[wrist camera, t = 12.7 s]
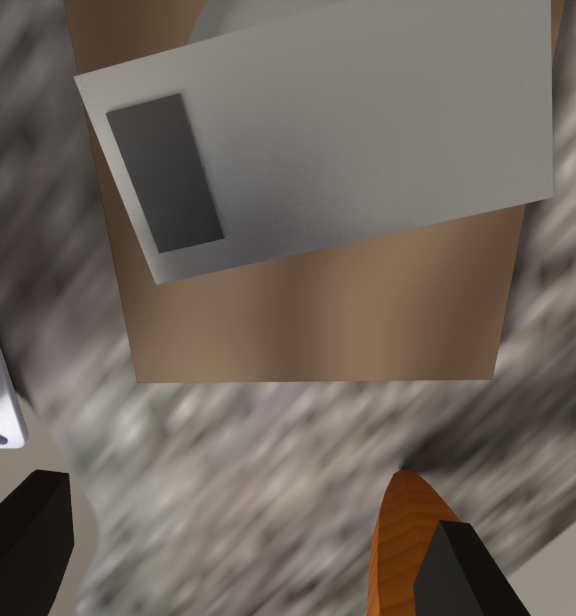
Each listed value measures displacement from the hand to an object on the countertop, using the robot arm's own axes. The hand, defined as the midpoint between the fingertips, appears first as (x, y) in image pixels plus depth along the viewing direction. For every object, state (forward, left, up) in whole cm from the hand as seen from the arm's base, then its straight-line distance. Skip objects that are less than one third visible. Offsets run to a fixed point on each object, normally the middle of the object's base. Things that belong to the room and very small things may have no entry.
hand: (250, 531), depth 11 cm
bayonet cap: (+1, +7, -9) cm, 12 cm away
